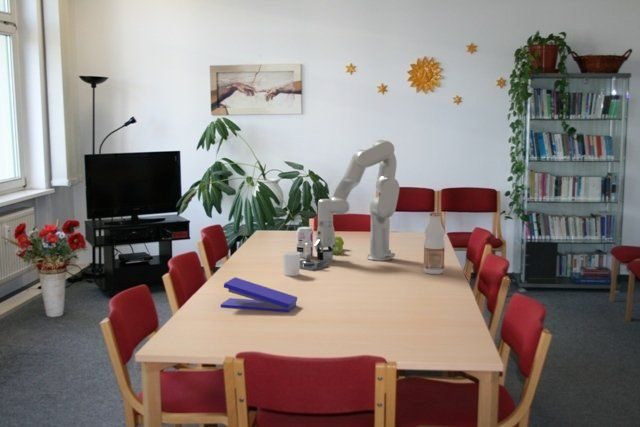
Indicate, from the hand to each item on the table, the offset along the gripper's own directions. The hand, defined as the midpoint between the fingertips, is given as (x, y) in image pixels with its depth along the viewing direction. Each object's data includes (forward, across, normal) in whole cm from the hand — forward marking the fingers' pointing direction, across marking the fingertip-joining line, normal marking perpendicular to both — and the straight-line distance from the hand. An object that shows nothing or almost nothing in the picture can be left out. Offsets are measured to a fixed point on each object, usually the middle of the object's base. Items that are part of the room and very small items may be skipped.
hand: (325, 258), depth 369 cm
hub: (+1, 0, 0) cm, 1 cm away
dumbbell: (+1, +22, +10) cm, 24 cm away
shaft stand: (+1, -16, -2) cm, 16 cm away
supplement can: (+1, +1, +14) cm, 14 cm away
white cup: (+1, -34, -7) cm, 35 cm away
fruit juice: (+1, +12, -55) cm, 56 cm away
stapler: (+2, -83, -32) cm, 89 cm away
